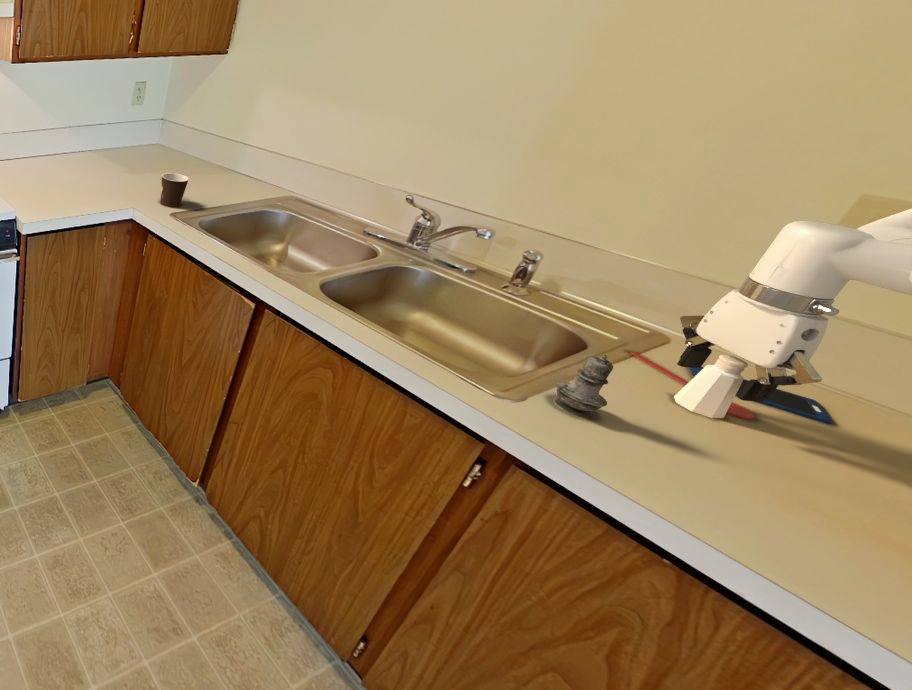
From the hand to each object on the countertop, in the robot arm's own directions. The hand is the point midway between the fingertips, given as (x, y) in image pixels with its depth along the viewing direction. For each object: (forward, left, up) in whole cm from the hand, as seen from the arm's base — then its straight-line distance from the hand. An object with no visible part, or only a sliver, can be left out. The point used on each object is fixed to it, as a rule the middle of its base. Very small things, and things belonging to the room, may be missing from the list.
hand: (717, 381), depth 87 cm
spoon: (-1, -8, -6) cm, 10 cm away
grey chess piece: (+19, +13, -6) cm, 24 cm away
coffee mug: (+101, -46, -6) cm, 111 cm away
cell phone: (-10, -12, -6) cm, 17 cm away
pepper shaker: (0, 0, -6) cm, 6 cm away
